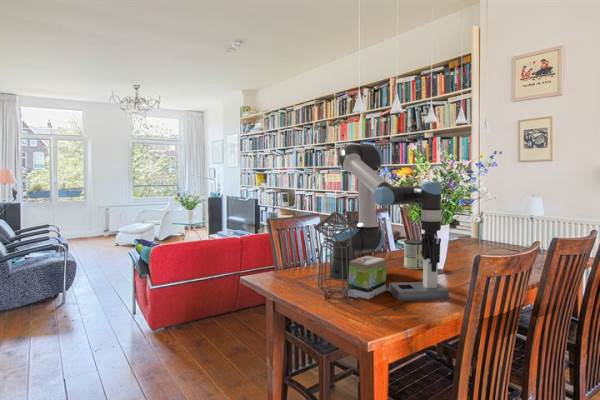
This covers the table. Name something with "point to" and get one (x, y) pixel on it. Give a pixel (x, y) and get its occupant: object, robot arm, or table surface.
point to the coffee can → (413, 254)
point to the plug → (426, 281)
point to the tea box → (367, 277)
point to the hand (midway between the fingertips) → (430, 277)
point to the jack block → (417, 291)
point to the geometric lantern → (318, 227)
